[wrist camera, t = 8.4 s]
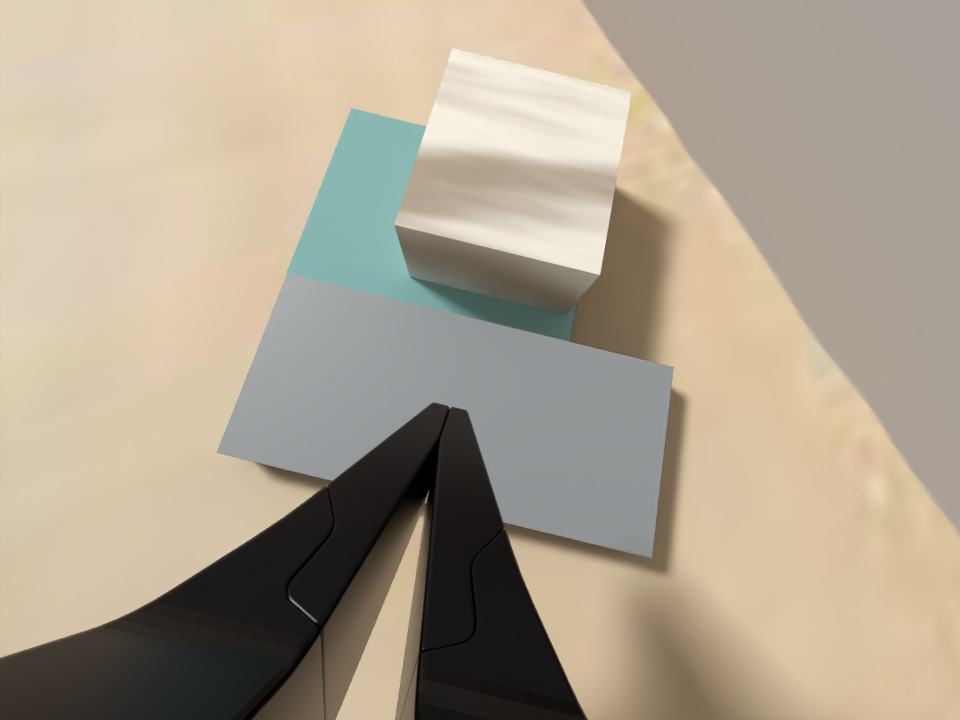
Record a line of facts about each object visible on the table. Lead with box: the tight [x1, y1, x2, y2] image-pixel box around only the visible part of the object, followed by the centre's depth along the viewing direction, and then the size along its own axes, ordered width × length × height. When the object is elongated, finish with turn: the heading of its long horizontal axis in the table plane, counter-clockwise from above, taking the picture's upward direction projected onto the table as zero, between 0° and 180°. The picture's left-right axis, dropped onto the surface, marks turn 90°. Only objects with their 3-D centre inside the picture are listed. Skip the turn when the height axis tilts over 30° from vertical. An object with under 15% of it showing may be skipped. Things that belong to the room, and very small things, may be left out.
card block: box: [394, 48, 632, 315], centre depth 19 cm, size 5×9×10 cm
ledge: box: [217, 273, 674, 558], centre depth 18 cm, size 9×20×2 cm, turn 77°
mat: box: [287, 109, 577, 342], centre depth 21 cm, size 12×16×1 cm
